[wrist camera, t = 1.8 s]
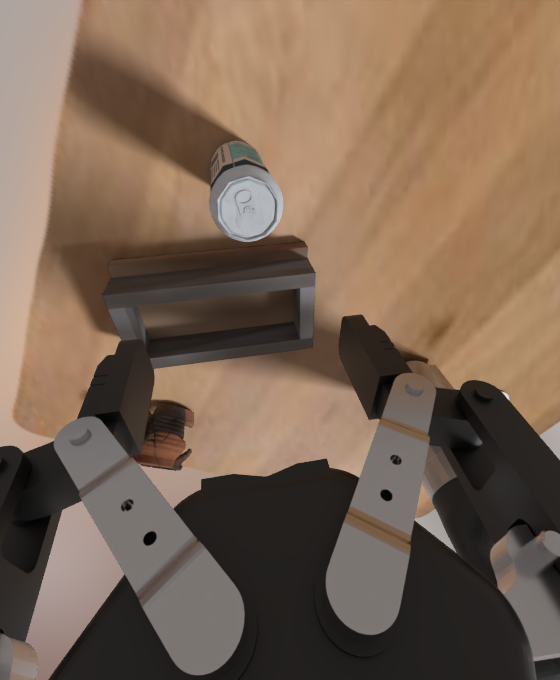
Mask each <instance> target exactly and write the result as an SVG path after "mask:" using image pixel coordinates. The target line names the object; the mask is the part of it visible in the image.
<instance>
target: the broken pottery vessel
mask: <svg viewBox="0 0 560 680" xmlns="http://www.w3.org/2000/svg"><path fill="white" fill-rule="evenodd" d="M184 426H188V427H190V428H191V427H193V426H194V413H193V412H192V411H190V410H187V409H184V408H181V407H179V406H175V405H172V404H165V403H158V404H157V407H156V409H155V410H154V413H153V414H151V412H150V411H149V414H148V419H147V425H146V430H145V435H144V441H143V446H142V452H141V454H137V455H130V456H131V457H132V458H133V459H134V460H135V461H136V462H137V464H140V465H142V466H147V467H153V468H161V469H168V470H175V471H176V470H181V468H182V466H181V464H182V462H183V461H185V460H186V459H187V458H188V457H189V455H190V454H191V452H192V451H191V449H188V450H187V451H186V452H185V453H183V454H181V453H182V452H183V451H184V449H185V446H186V443H185V441H184V440H183V438H184ZM152 432H154V440H152V439H150V440H148V438H149V436H148V435H149V434H151V433H152ZM180 454H181V455H180Z"/></svg>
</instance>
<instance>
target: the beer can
mask: <svg viewBox="0 0 560 680" xmlns="http://www.w3.org/2000/svg"><path fill="white" fill-rule="evenodd" d="M210 172H211V193H210V200H209V202H210V211H211V215H212V218H213V220H214V222H215V224H216V225H217V227H218V228H219V229H220V230H221V231H222V232H223V233H224V234H225V235H227V236H228V237H230V238H232V239H235V240H238V241H242V242H252V241H257V240H259V239H262V238H264V237H266V236H267V235H268V234H270V233H271V232H272V231H273V230H274V228H275V227H276V226H277V224H278V223H279V221H280V218H281V216H282V211H283V198H282V193H281V190H280V187H279V185H278V184H277V182H276V180H275V179H274V178H273V177H272V176H271V175H270V173H269V172H268V170H267V169H266V167H265V165H264V164H263V162H262V160H261V157H260V156H259V154H258V152H257V151H256V150H255V149H254V148H253V147H252V146H251V145H249V144H247V143H245V142H242V141H230V142H227V143H225V144H223V145H221V146H220V147H219V148H218V149H217V150H216V151H215V153H214V155H213V157H212V160H211V165H210Z"/></svg>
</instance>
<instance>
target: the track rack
mask: <svg viewBox="0 0 560 680" xmlns="http://www.w3.org/2000/svg"><path fill="white" fill-rule="evenodd" d="M307 254H308V247H307V245H306V243H305V242H296V243H285V244H275V245H264V246H254V247H243V248H233V249H223V250H212V251H202V252H191V253H181V254H170V255H160V256H149V257H139V258H129V259H118V260H110V262H109V264H108V266H107V268H108V271H109V273H110V276H111V279H110V281H109V283H108V285H107V287H106V289H105V291H104V293H103V295H102V297H103V299H104V301H105V304H106V306H107V308H108V311H109V313H110V315H111V317H112V320H113V322H114V324H115V327H116V329H117V331H118V334H119V336H120V338H121V341H124V340H133V339H142V340H143V342H144V344H145V347H146V350H147V353H148V355H149V358H150V361H151V364H152V367H153V369H156V368H163V367H171V366H179V365H186V364H194V363H201V362H209V361H217V360H224V359H232V358H239V357H247V356H255V355H262V354H270V353H277V352H285V351H293V350H300V349H308V348H313V323H314V298H315V271H314V269H313V267H312V266H311V264H310V262H309V260H308V258H307Z"/></svg>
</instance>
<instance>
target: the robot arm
mask: <svg viewBox="0 0 560 680" xmlns="http://www.w3.org/2000/svg"><path fill="white" fill-rule="evenodd" d="M339 355H340V359H341V361H342V363H343V365H344V367H345V370H346V372H347V374H348V376H349V378H350V380H351V382H352V385H353V387H354V389H355V391H356V393H357V395H358V397H359V400H360V402H361V404H362V406H363V408H364V410H365V412H366V415H367V417H368V419H369V420H372V419H379V420H380V421H379V424H378V427H377V430H376V433H375V435H374V438H373V441H372V444H371V447H370V450H369V453H368V456H367V458H366V461H365V464H364V467H363V470H362V473H361V476H360V478H359V477H357V476H355V475H353V474H351V473H349V472H346V471H343V470H339V469H334V468H329V464H328V461H327V459H322V460H316V461H310V462H304V463H298V464H295V465H293V466H290V467H288V468H286V469H284V470H281V471H279V472H277V473H274V474H272V475H270V476H266V477H262V476H250V475H238V474H231V475H225V476H219V477H213V478H207V479H202V480H201V490H199V491H197V492H195V493H193V494H192V495H190V496H188V497H187V498H185V499H184V500H182V501H181V502H180V503H179V504H178V505H177V506H176V507H175V508H174V509H173V508H172V507H171V506H170V504H169V503H168V502H167V501H166V499H165V498H164V497H163V495H162V494H161V493H160V492H159V490H158V489H157V488H156V486H155V485H154V484H153V483H152V481H151V480H150V479H149V478H148V476H147V475H146V474H145V472H144V471H143V470H142V469H141V467H140V466H139V465H138V464H137V462H136V461H135V460H134V459H133V458H132V457H131V456H130V455H137V454H141V452H142V446H143V441H144V435H145V430H146V425H147V419H148V414H149V408H150V403H151V397H152V392H153V386H154V370H153V367H152V364H151V361H150V358H149V355H148V353H147V350H146V347H145V344H144V342H143V340H142V339H133V340H124V341H120V342H119V344H118V347H117V350H116V353H115V355H108V356H106V357H105V359H104V360H103V361H102V362H101V363H100V364H99V365H98V366H97V369H96V371H95V374H94V378H93V379H92V382H91V384H90V387H89V389H88V392H87V395H86V397H85V400H84V402H83V405H82V407H81V410H80V412H79V415H78V418H77V419H76V420H74V421H72V422H70V423H69V424H67V425H66V426H65V427H63V428H62V429H61V430H60V432H59V433H58V434H57V436H56V438H55V440H54V441H53V442H51V443H48V444H46V445H43V446H41V447H38V448H35V449H33V450H30V451H28V452H25V453H23V452H22V451H21V450H20V449H19V448H17V447H15V446H3V447H0V680H36V673H37V666H38V662H37V661H38V660H37V654H36V651H35V649H34V648H33V647H32V646H31V645H30V644H28V643H26V642H25V640H26V637H27V633H28V630H29V626H30V623H31V619H32V615H33V612H34V608H35V605H36V601H37V598H38V594H39V591H40V587H41V583H42V580H43V576H44V573H45V569H46V566H47V562H48V559H49V555H50V551H51V548H52V544H53V541H54V537H55V533H56V530H57V527H58V523H59V519H60V516H61V512H62V510H63V509H65V508H67V507H69V506H71V505H74V504H76V503H78V502H80V501H83V503H84V505H85V506H86V508H87V510H88V511H89V514H90V515H91V517H92V519H93V520H94V522H95V523H96V526H97V527H98V529H99V531H100V532H101V534H102V536H103V538H104V539H105V541H106V543H107V544H108V546H109V548H110V550H111V551H112V553H113V555H114V556H115V558H116V560H117V562H118V563H119V565H120V567H121V568H122V570H123V572H124V576H123V577H122V579H121V580H120V581H119V583H118V584H117V586H116V587H115V588H114V590H113V591H112V592H111V594H110V595H109V597H108V598H107V599H106V601H105V602H104V603H103V605H102V606H101V608H100V609H99V610H98V612H97V613H96V614H95V616H94V617H93V619H92V620H91V621H90V623H89V624H88V625H87V627H86V628H85V630H84V631H83V632H82V634H81V635H80V637H79V638H78V639H77V641H76V642H75V644H74V645H73V646H72V648H71V649H70V650H69V652H68V653H67V654H66V656H65V657H64V658H63V660H62V661H61V663H60V664H59V665H58V667H57V668H56V669H55V671H54V673H53V674H52V675H51V677H50V678H49V680H560V460H559V459H558V458H557V457H556V455H555V454H554V453H553V452H552V451H551V450H550V448H549V447H548V446H547V445H546V444H545V442H544V441H543V440H542V439H541V438H540V437H539V435H538V434H537V433H536V432H535V431H534V429H533V428H532V427H531V426H530V425H529V424H528V422H527V421H526V420H525V419H524V418H523V416H522V415H521V414H520V413H519V412H518V411H517V409H516V408H515V407H514V406H513V405H512V403H511V402H510V401H509V400H508V399H507V398H506V396H505V395H504V394H503V393H502V392H501V391H500V390H499V389H498V388H496V387H495V386H493V385H491V384H489V383H486V382H483V381H477V380H471V381H467V382H465V383H464V384H463V385H462V386H461V388H460V390H455V389H454V388H453V386H452V385H451V384H450V383H449V381H448V380H447V379H446V378H445V376H444V375H443V374H442V372H441V371H440V370H439V369H438V367H437V366H436V365H428V364H426V363H424V362H421V361H407V362H405V360H404V359H403V357H402V356H401V354H400V353H399V352H398V350H397V349H396V348H395V346H394V344H393V343H392V342H391V340H390V339H389V337H388V336H387V334H386V333H385V332H384V331H383V330H381V329H380V328H379V327H377V326H376V325H371V326H369V324H368V323H367V321H366V320H365V318H364V317H363V315H352V316H344V317H343V318H342V323H341V331H340V339H339ZM421 483H422V484H423V486H424V487H425V489H426V491H427V493H428V495H429V497H430V499H431V501H432V503H433V505H434V507H435V508H436V510H437V512H438V514H439V516H440V518H441V521H442V523H443V526H444V528H445V530H446V532H447V534H448V537H449V538H450V540H451V542H452V544H453V546H454V548H455V550H456V552H457V553H455V552H454V551H453V550H452V549H450V548H449V547H448V546H446V545H445V544H444V543H443V542H441V541H440V540H439V539H438V538H436V537H435V536H434V535H432V534H431V533H430V532H429V531H427V530H426V529H425V528H424V527H422V526H421V525H420V524H418V523H417V522H416V521H415V520H414V519H415V514H416V509H417V504H418V499H419V493H420V488H421Z"/></svg>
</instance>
